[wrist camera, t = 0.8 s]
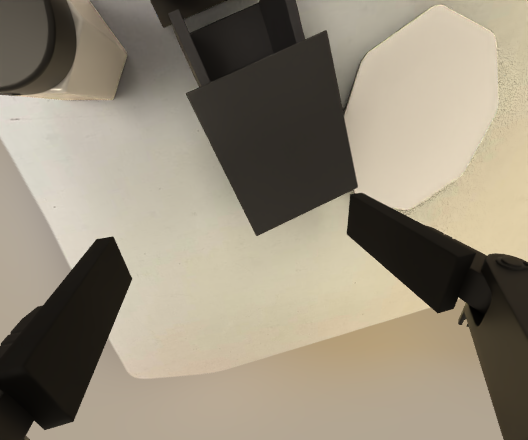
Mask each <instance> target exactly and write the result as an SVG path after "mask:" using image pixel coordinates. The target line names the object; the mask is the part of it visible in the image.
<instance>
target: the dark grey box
mask: <svg viewBox="0 0 528 440" xmlns="http://www.w3.org/2000/svg"><path fill="white" fill-rule="evenodd" d="M186 95H187V97H188V99H189V101H190V103H191V105H192V107H193V109H194V111H195V113H196V115H197V117H198V119H199V121H200V123H201V125H202V127H203V129H204V131H205V133H206V135H207V137H208V139H209V141H210V144H211V146H212V148H213V150H214V152H215V154H216V156H217V158H218V160H219V162H220V164H221V166H222V168H223V170H224V172H225V174H226V176H227V178H228V180H229V182H230V184H231V186H232V188H233V190H234V192H235V194H236V196H237V198H238V200H239V202H240V204H241V206H242V208H243V210H244V212H245V214H246V216H247V218H248V220H249V222H250V224H251V226H252V228H253V230H254V232H255V234H256V236H258V235H260V234H262V233H264V232H266V231H268V230H270V229H272V228H275V227H277V226H279V225H281V224H283V223H285V222H287V221H289V220H291V219H293V218H295V217H297V216H300V215H302V214H304V213H306V212H308V211H310V210H312V209H314V208H316V207H318V206H320V205H322V204H324V203H327V202H329V201H331V200H333V199H335V198H337V197H339V196H341V195H343V194H345V193H347V192H349V191H351V190H354V189H356V188H358V184H357V179H356V174H355V169H354V164H353V159H352V154H351V149H350V144H349V139H348V134H347V129H346V124H345V119H344V114H343V109H342V104H341V99H340V94H339V89H338V84H337V79H336V74H335V69H334V64H333V59H332V54H331V49H330V44H329V39H328V34H327V30H325V31H323V32H321V33H318V34H316V35H314V36H312V37H310V38H307V39H305V40H303V41H301V42H299V43H296V44H294V45H292V46H290V47H287V48H285V49H283V50H281V51H279V52H276V53H274V54H272V55H270V56H268V57H265V58H263V59H261V60H259V61H256V62H254V63H252V64H250V65H248V66H245V67H243V68H241V69H239V70H237V71H234V72H232V73H230V74H228V75H225V76H223V77H221V78H219V79H217V80H214V81H212V82H210V83H208V84H206V85H203V86H201V87H199V88H197V89H194V90H192V91H190V92H188V93H186Z"/></svg>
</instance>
